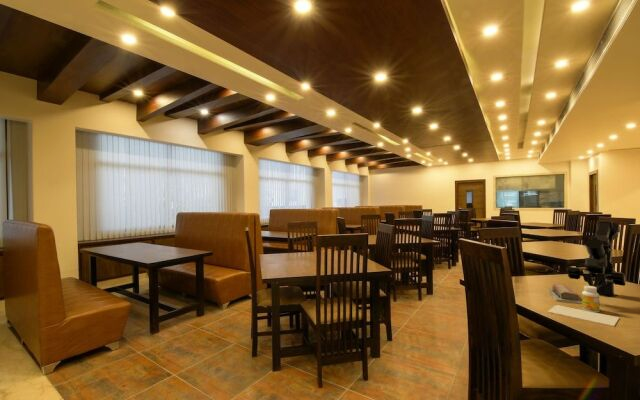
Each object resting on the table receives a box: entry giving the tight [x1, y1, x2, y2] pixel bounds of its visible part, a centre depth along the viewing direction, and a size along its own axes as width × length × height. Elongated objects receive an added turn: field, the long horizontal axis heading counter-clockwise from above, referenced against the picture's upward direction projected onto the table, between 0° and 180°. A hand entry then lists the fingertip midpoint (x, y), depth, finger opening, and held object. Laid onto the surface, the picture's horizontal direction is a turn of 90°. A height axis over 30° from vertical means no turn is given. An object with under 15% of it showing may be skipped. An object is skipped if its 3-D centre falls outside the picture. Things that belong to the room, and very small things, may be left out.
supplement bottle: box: [581, 285, 600, 313], centre depth 127 cm, size 5×5×10 cm
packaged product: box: [547, 283, 582, 305], centre depth 145 cm, size 18×5×10 cm
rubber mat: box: [547, 304, 620, 327], centre depth 122 cm, size 12×20×1 cm, turn 39°
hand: (592, 291), depth 129 cm, fingers closed
